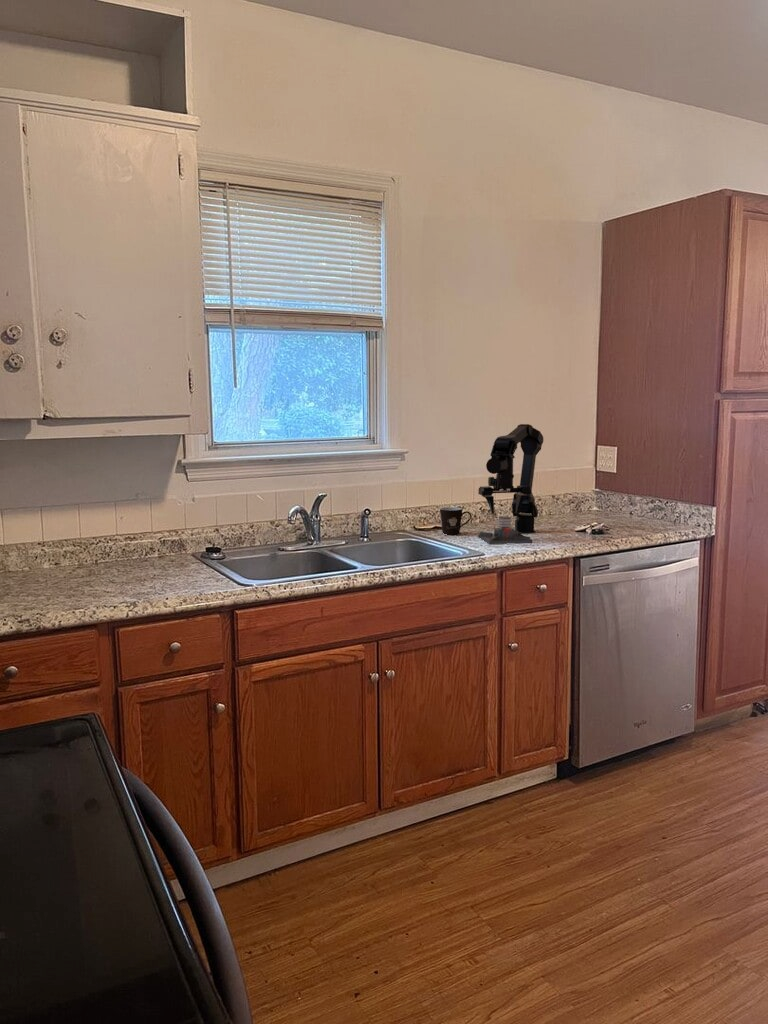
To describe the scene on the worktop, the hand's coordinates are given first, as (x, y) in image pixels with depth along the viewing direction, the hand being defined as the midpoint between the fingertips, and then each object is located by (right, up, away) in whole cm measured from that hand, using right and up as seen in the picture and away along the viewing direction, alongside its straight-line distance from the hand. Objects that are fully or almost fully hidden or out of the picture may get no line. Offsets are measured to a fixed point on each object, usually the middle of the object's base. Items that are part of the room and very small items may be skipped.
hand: (504, 513), depth 287 cm
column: (0, -8, +1) cm, 8 cm away
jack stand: (0, -10, +1) cm, 10 cm away
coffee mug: (-17, -8, +14) cm, 23 cm away
